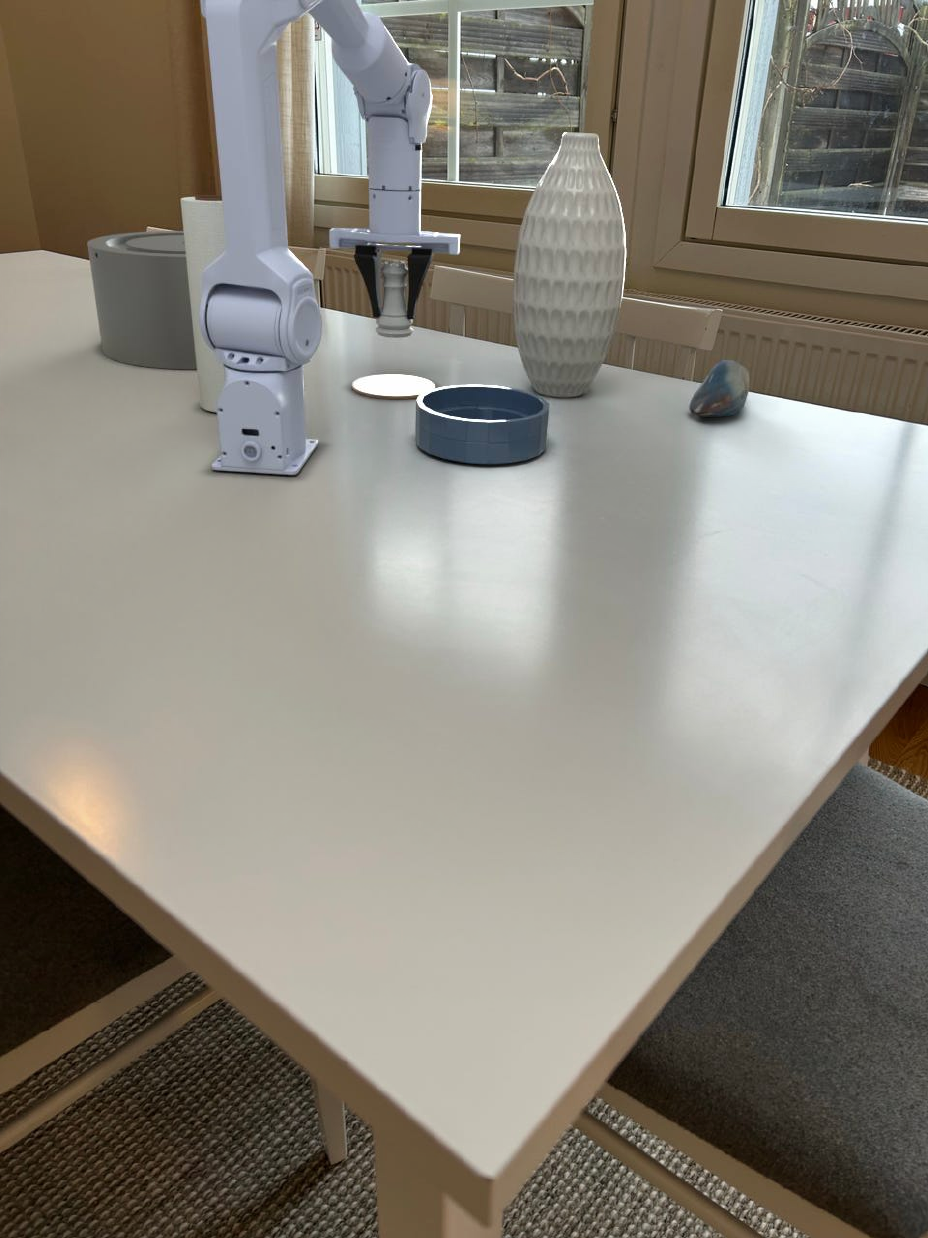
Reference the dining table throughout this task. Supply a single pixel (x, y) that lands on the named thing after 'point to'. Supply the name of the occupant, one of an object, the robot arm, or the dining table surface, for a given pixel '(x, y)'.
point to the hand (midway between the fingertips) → (394, 316)
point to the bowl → (481, 424)
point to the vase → (569, 270)
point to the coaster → (392, 386)
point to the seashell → (722, 391)
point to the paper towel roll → (201, 250)
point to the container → (143, 298)
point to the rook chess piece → (394, 302)
